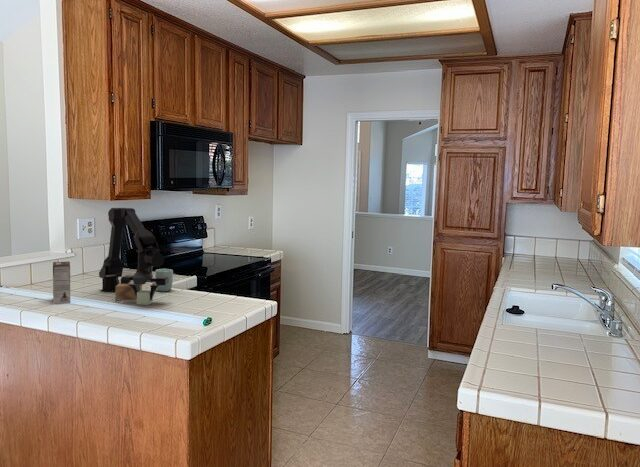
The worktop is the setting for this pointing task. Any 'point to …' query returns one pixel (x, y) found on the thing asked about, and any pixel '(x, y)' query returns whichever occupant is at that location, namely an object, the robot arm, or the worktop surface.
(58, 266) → the coffee box
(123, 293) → the walnut block
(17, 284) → the worktop surface
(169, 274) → the cup
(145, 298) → the green cube
